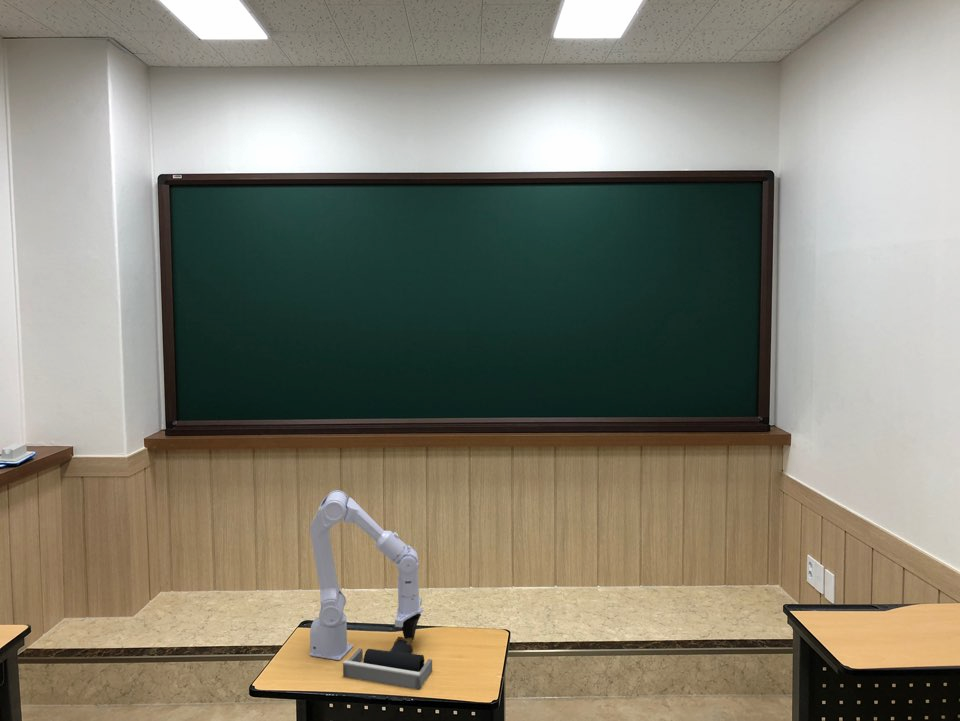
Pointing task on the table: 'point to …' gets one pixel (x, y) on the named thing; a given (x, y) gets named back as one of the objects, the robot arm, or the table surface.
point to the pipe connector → (396, 656)
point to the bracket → (385, 672)
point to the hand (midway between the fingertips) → (409, 640)
